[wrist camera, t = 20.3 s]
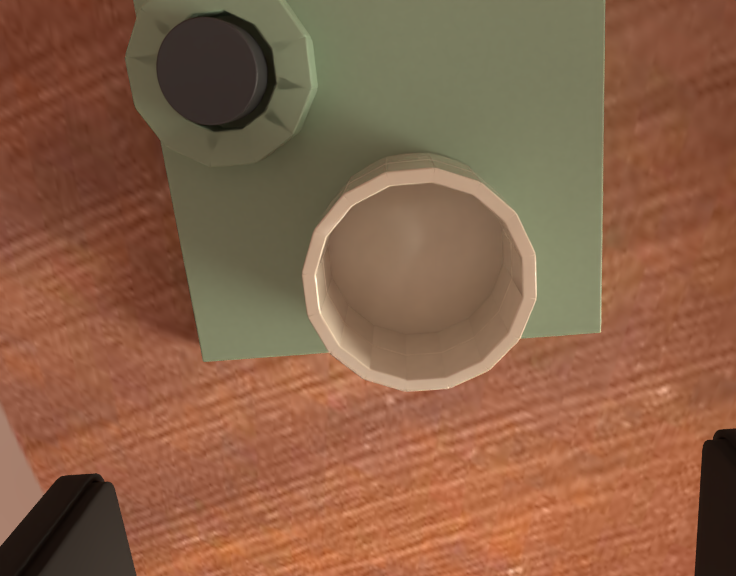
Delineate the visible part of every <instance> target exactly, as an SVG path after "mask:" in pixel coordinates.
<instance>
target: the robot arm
mask: <svg viewBox="0 0 736 576" xmlns="http://www.w3.org/2000/svg"><path fill="white" fill-rule="evenodd" d="M0 576H136V572H135V568H134V564H133V560H132V556H131V552H130V548H129V544H128V540H127V536H126V532H125V528H124V524H123V520H122V516H121V512H120V508H119V504H118V500H117V496H116V492H115V488H114V486H113V485H112V483H110V482H104V479H103V478H102V477H101V475H99V474H97V473H95V474H81V475H67V476H61V477H60V478H58V479H57V480H56V481H55V482H54V484H53V485H52V486H51V487H50V488H49V490H48V491H47V492H46V493H45V494H44V495H43V497H42V498H41V499H40V501H38V503H37V504H36V505H35V506H34V507H33V509H32V510H31V511H30V512H29V513H28V515H27V516H26V517H25V518H24V519H23V520H22V522H21V523H20V524H19V525H18V526H17V527H16V529H15V530H14V531H13V532H12V533H11V535H10V536H9V537H8V538H7V539H6V541H5V542H4V543H3V544H2V545H1V546H0ZM695 576H736V429H722V430H718V431H717V432H716V433H715V435H714V437H713V440H707V441H705V443H704V445H703V450H702V465H701V481H700V497H699V513H698V529H697V546H696V562H695Z"/></svg>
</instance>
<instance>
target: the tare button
mask: <svg viewBox="0 0 736 576" xmlns="http://www.w3.org/2000/svg"><path fill="white" fill-rule="evenodd" d="M156 72H157V79H158V83H159V86H160V89H161V91H162V93H163V95H164V97H165V99H166V100H167V102H168V103H169V104H170V105H171V107H172V108H173V109H174V110H175V111H176V112H178V113H179V114H180V115H181V116H183V117H184V118H186V119H188V120H190V121H192V122H195V123H198V124H202V125H220V124H224V123H228V122H232V121H235V120H239V119H241V118H243V117H245V116H247V115H248V114H250V113H251V112H252V111H253V110H254V109H255V108H256V107H257V106H258V105H259V104H260V102H261V100H262V99H263V96H264V94H265V92H266V88H267V83H268V67H267V62H266V58H265V55H264V53H263V51H262V49H261V47H260V46H259V44H258V43H257V41H256V40H255V39H254V38H253V37H252V36H251V35H250V34H249V33H248V32H247V31H245V30H244V29H242V28H241V27H239V26H237V25H234V24H232V23H229V22H226V21H223V20H220V19H216V18H212V17H195V18H191V19H188V20H185V21H183V22H181V23H179V24H178V25H176V26H175V27H174V28H173V29H172V30H171V31H169V33H168V34H167V35H166V36H165V38H164V40H163V41H162V43H161V46H160V48H159V51H158V55H157V62H156Z"/></svg>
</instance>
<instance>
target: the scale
mask: <svg viewBox="0 0 736 576" xmlns="http://www.w3.org/2000/svg"><path fill="white" fill-rule="evenodd" d="M133 2H134V7H135V13H136V21H135V25H134V28H133V31H132V34H131V38H130V41H129V44H128V47H127V51H126V57H125V62H126V67H127V72H128V77H129V82H130V87H131V92H132V97H133V101H134V106H135V108H136V110H137V111H138V112H139V114H140V115H141V116H142V117H143V119H144V120H145V121H146V123H147V124H148V125H149V126H150V128H151V129H152V130H153V131H154V133H155V134H156V135H157V136H158V138H159V139H160V142H161V147H162V152H163V157H164V162H165V167H166V172H167V178H168V183H169V188H170V193H171V198H172V203H173V209H174V214H175V219H176V224H177V229H178V234H179V240H180V245H181V250H182V255H183V260H184V265H185V271H186V276H187V281H188V286H189V291H190V296H191V301H192V307H193V312H194V317H195V322H196V327H197V332H198V338H199V343H200V348H201V353H202V358H203V361H204V362H208V361H222V360H235V359H249V358H262V357H276V356H290V355H303V354H317V353H329V352H328V350H327V349H326V347H325V345H324V344H323V342H322V340H321V339H320V337H319V335H318V334H317V332H316V330H315V329H314V327H313V325H312V324H311V322H310V320H309V318H308V316H307V311H306V304H305V296H304V289H303V282H302V269H303V266H304V262H305V259H306V255H307V251H308V248H309V244H310V241H311V237H312V234H313V231H314V229H315V227H316V225H317V224H318V222H319V220H320V218H321V216H322V214H323V213H324V211H325V209H326V207H327V205H328V204H329V203H330V202H331V200H332V199H333V198H334V197H335V195H336V194H337V193H338V191H339V190H340V188H341V187H342V186H343V185H344V184H345V183H346V182H347V181H348V179H349V178H350V177H351V176H352V175H354V174H355V173H357V172H358V171H360V170H362V169H363V168H365V167H366V166H368V165H370V164H372V163H374V162H376V161H378V160H380V159H383V158H385V157H389V156H393V155H398V154H404V153H431V154H437V155H441V156H445V157H448V158H451V159H453V160H456V161H458V162H460V163H463V164H466V165H468V166H469V167H470V168H472V169H473V170H474V171H475V172H476V173H478V174H479V175H480V176H481V177H482V178H483V179H484V180H486V181H487V182H488V183H489V184H490V185H491V186H492V187H494V188H495V189H496V190H497V191H498V192H499V193H500V195H501V196H502V197H503V198H504V199H505V200H506V201H507V203H508V204H509V205H510V206H511V207H512V208H513V209H514V211H515V212H516V213H517V215H518V217H519V219H520V221H521V223H522V225H523V227H524V229H525V231H526V234H527V236H528V238H529V240H530V242H531V244H532V246H533V248H534V251H535V254H536V277H537V298H536V302H535V304H534V307H533V309H532V312H531V314H530V316H529V319H528V321H527V324H526V326H525V329H524V331H523V333H522V336H521V338H534V337H548V336H562V335H575V334H589V333H600V332H601V294H602V218H603V142H604V66H605V0H133ZM195 17H212V18H216V19H220V20H223V21H226V22H229V23H232V24H234V25H237V26H239V27H241V28H242V29H244V30H245V31H247V32H248V33H249V34H250V35H251V36H252V37H253V38H254V39H255V40H256V41H257V43H258V44H259V46H260V47H261V49H262V51H263V53H264V55H265V58H266V62H267V67H268V83H267V88H266V92H265V94H264V96H263V99H262V100H261V102H260V104H259V105H258V106H257V107H256V108H255V109H254V110H253V111H252V112H251V113H250V114H248V115H247V116H245V117H243V118H241V119H239V120H235V121H232V122H228V123H224V124H220V125H202V124H198V123H195V122H192V121H190V120H188V119H186V118H184V117H183V116H181V115H180V114H179V113H178V112H176V111H175V110H174V109H173V108H172V107H171V105H170V104H169V103H168V102H167V100H166V99H165V97H164V95H163V93H162V91H161V89H160V86H159V83H158V79H157V72H156V62H157V55H158V51H159V48H160V46H161V43H162V41H163V40H164V38H165V36H166V35H167V34H168V33H169V31H171V30H172V29H173V28H174V27H175V26H176V25H178V24H179V23H181V22H183V21H185V20H188V19H191V18H195ZM521 338H520V339H521Z"/></svg>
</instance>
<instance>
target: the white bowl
mask: <svg viewBox="0 0 736 576" xmlns="http://www.w3.org/2000/svg"><path fill="white" fill-rule="evenodd" d="M302 282H303V289H304V296H305V304H306V311H307V316H308V318H309V320H310V322H311V324H312V325H313V327H314V329H315V330H316V332H317V334H318V335H319V337H320V339H321V340H322V342H323V344H324V345H325V347H326V349H327V350H328V352H329V353H330V354H331V355H332V356H333V357H335V358H336V359H337V360H339V361H340V362H341V363H343V364H344V365H345V366H347V367H348V368H349V369H351V370H352V371H353V372H354V373H356V374H357V375H358V376H360V377H361V378H362V379H365V380H367V381H371V382H374V383H377V384H381V385H384V386H388V387H391V388H394V389H398V390H401V391H406V392H409V391H423V390H438V389H448V388H452V387H454V386H456V385H458V384H461V383H463V382H465V381H467V380H469V379H472V378H474V377H476V376H478V375H481V374H483V373H485V372H487V371H488V370H490V369H491V368H492V367H493V366H494V365H495V364H496V363H497V362H498V361H499V360H500V359H501V358H502V357H503V356H504V355H505V354H506V353H507V352H508V351H509V350H510V349H511V348H512V347H513V346H514V345H515V344H516V343H517V342H518V341H519V339H520V338H521V336H522V333H523V331H524V329H525V326H526V324H527V321H528V319H529V316H530V314H531V312H532V309H533V307H534V304H535V302H536V298H537V277H536V254H535V251H534V248H533V246H532V244H531V242H530V240H529V238H528V236H527V234H526V231H525V229H524V227H523V225H522V223H521V221H520V219H519V217H518V215H517V213H516V212H515V211H514V209H513V208H512V207H511V206H510V205H509V204H508V203H507V201H506V200H505V199H504V198H503V197H502V196H501V195H500V193H499V192H498V191H497V190H496V189H495V188H494V187H492V186H491V185H490V184H489V183H488V182H487V181H486V180H484V179H483V178H482V177H481V176H480V175H479V174H478V173H476V172H475V171H474V170H473V169H472V168H470V167H469V166H468V165H466V164H463V163H460V162H458V161H456V160H453V159H451V158H448V157H445V156H441V155H437V154H431V153H404V154H398V155H393V156H389V157H385V158H383V159H380V160H378V161H376V162H374V163H372V164H370V165H368V166H366V167H365V168H363V169H362V170H360V171H358V172H357V173H355V174H354V175H352V176H351V177H350V178H349V179H348V181H347V182H346V183H345V184H344V185H343V186H342V187H341V188H340V190H339V191H338V193H337V194H336V195H335V197H334V198H333V199H332V200H331V202H330V203H329V204H328V205H327V207H326V209H325V211H324V213H323V214H322V216H321V218H320V220H319V222H318V224H317V225H316V227H315V229H314V231H313V234H312V237H311V241H310V244H309V248H308V251H307V255H306V259H305V262H304V266H303V269H302Z"/></svg>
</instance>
